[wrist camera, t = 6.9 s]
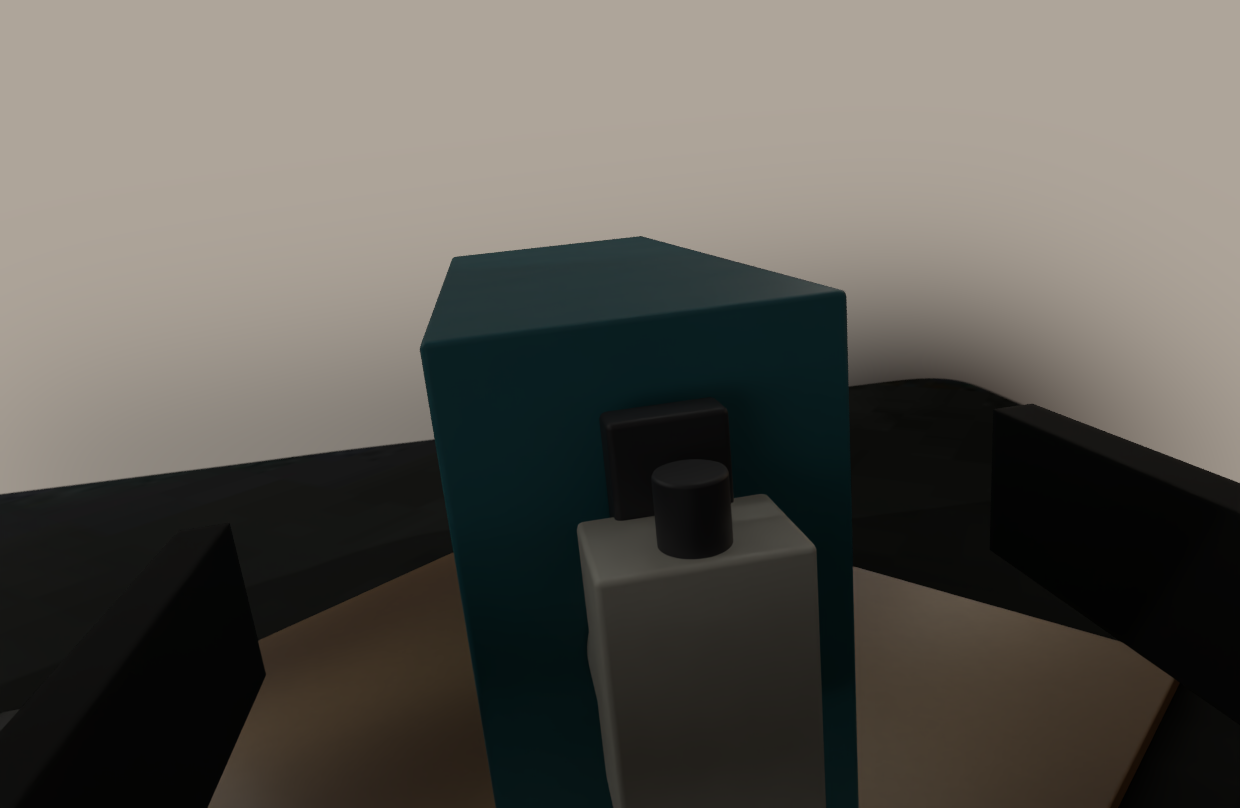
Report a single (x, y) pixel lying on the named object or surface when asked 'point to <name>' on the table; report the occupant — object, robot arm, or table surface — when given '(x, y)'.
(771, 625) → the teal box
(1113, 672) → the cork mat
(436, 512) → the table surface
